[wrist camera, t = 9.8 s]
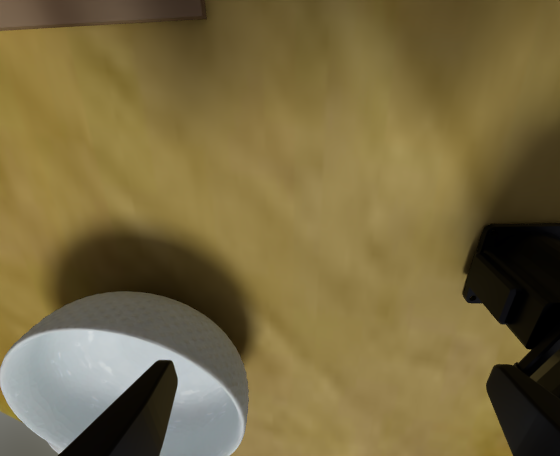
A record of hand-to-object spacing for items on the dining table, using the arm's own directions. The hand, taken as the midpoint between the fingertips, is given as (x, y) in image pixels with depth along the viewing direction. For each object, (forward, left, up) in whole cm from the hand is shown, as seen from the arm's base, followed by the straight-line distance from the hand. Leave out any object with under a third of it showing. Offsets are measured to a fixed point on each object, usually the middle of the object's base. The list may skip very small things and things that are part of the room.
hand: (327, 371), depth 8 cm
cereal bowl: (+13, +13, -13) cm, 23 cm away
